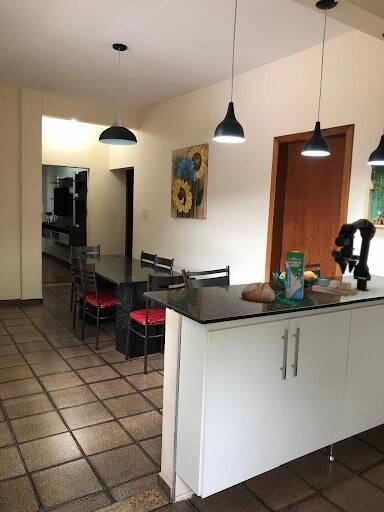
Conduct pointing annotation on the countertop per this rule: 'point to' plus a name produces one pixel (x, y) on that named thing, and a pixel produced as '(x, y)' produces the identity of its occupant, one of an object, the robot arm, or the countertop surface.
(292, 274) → the milk carton
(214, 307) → the countertop surface
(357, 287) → the robot arm
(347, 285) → the key terracotta
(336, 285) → the key ivory
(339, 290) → the wooden cutting board
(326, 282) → the key teal
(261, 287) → the bread
